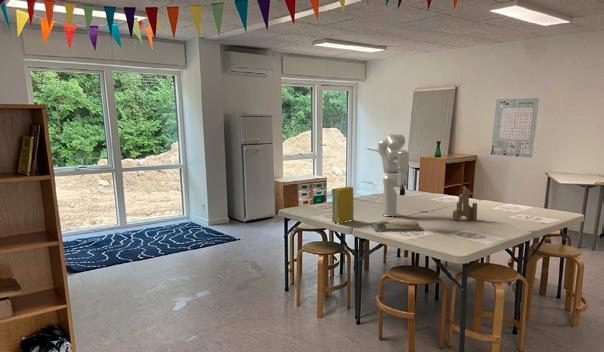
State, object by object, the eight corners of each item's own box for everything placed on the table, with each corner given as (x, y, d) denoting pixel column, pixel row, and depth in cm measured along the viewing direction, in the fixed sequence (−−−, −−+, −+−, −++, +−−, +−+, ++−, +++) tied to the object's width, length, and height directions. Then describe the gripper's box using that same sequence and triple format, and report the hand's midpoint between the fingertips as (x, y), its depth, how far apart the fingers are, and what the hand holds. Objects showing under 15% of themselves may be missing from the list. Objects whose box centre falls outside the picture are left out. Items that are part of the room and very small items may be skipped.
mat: (370, 223, 291) (370, 222, 291) (414, 223, 291) (414, 221, 291) (375, 231, 269) (375, 230, 269) (423, 230, 269) (423, 229, 269)
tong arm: (376, 226, 278) (376, 221, 277) (416, 226, 277) (416, 221, 277) (377, 228, 272) (377, 223, 272) (418, 228, 272) (418, 223, 271)
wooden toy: (456, 221, 293) (456, 187, 290) (452, 219, 300) (453, 185, 297) (477, 221, 293) (478, 186, 290) (473, 219, 300) (474, 185, 297)
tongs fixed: (376, 227, 276) (376, 222, 276) (416, 226, 276) (416, 221, 276) (378, 229, 271) (378, 224, 270) (419, 228, 271) (419, 223, 270)
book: (338, 224, 292) (337, 189, 289) (332, 222, 297) (331, 188, 294) (355, 220, 302) (355, 187, 299) (349, 219, 307) (349, 186, 304)
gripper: (394, 167, 288) (394, 193, 291) (400, 170, 273) (399, 197, 276) (405, 167, 288) (404, 192, 291) (411, 170, 273) (410, 197, 276)
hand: (402, 195), depth 283 cm, fingers closed
